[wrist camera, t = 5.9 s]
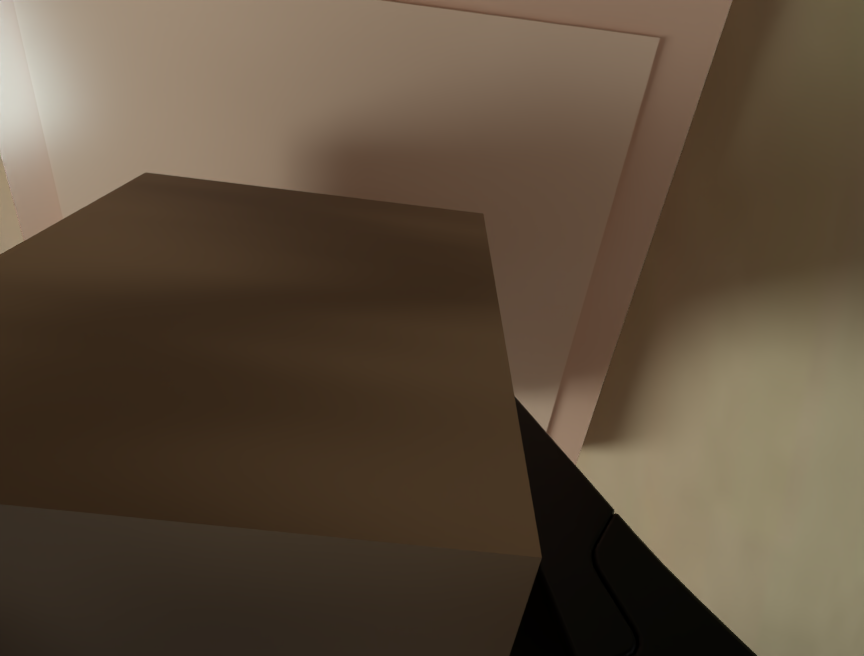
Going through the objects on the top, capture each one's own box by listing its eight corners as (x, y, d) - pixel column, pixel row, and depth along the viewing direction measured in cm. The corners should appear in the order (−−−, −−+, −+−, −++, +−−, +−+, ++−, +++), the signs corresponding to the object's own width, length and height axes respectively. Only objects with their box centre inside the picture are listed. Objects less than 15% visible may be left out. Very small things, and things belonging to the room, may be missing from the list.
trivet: (681, -23, 11) (748, -29, 8) (543, 450, 17) (559, 523, 14) (32, -114, 10) (-93, -148, 8) (134, 407, 16) (81, 476, 14)
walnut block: (483, 213, 8) (540, 557, 3) (441, 459, 11) (435, 875, 6) (145, 172, 8) (-376, 467, 3) (182, 432, 11) (-67, 837, 6)
